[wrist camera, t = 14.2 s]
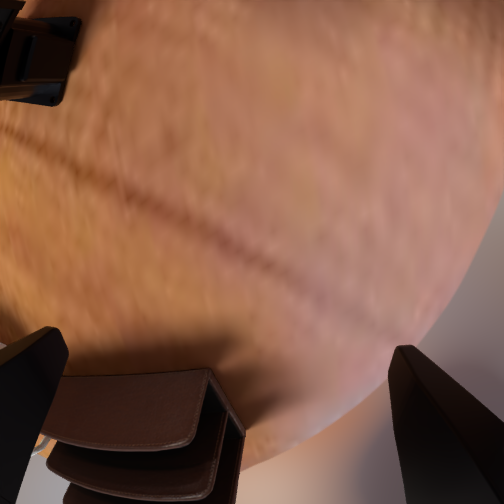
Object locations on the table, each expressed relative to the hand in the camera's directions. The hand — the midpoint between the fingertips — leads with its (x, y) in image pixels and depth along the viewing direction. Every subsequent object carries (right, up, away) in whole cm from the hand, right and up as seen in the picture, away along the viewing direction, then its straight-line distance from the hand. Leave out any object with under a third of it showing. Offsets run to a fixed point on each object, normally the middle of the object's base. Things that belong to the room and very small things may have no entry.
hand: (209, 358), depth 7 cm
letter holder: (-10, -13, +22) cm, 28 cm away
